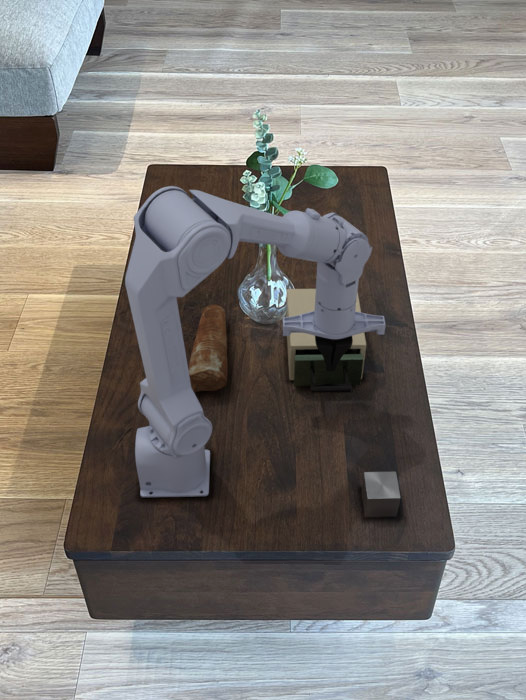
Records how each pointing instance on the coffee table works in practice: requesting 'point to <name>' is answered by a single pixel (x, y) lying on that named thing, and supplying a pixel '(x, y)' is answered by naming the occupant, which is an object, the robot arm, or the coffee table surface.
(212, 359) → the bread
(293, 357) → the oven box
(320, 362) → the drawer
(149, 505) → the coffee table surface
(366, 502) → the block
